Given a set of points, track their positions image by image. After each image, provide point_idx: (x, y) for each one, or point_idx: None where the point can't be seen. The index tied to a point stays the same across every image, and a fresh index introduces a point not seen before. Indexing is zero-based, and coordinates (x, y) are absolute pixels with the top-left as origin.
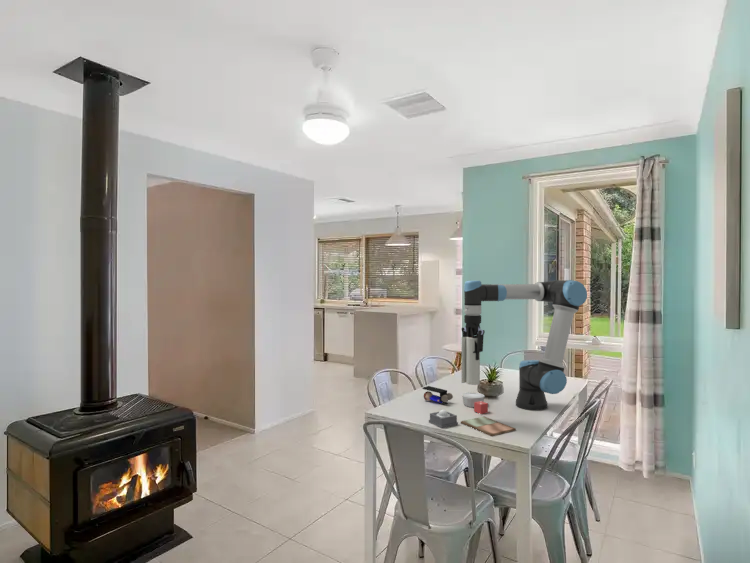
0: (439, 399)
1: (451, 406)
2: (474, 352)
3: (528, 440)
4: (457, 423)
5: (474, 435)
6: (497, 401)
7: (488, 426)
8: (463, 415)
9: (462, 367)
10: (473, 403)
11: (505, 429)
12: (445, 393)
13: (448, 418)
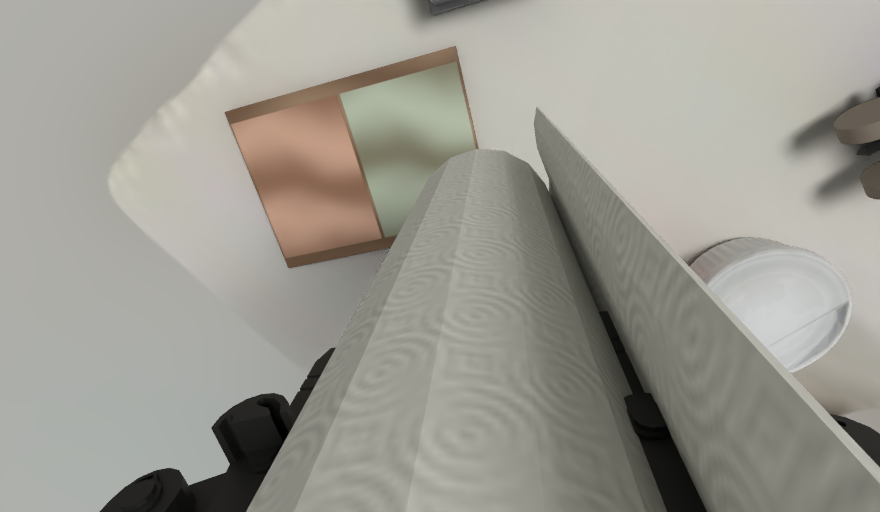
0: None
1: (786, 148)
2: (230, 413)
3: (172, 243)
4: (431, 9)
5: (250, 27)
6: None
7: (332, 159)
8: (581, 135)
9: (556, 147)
10: (695, 272)
11: (278, 215)
12: None
13: None
